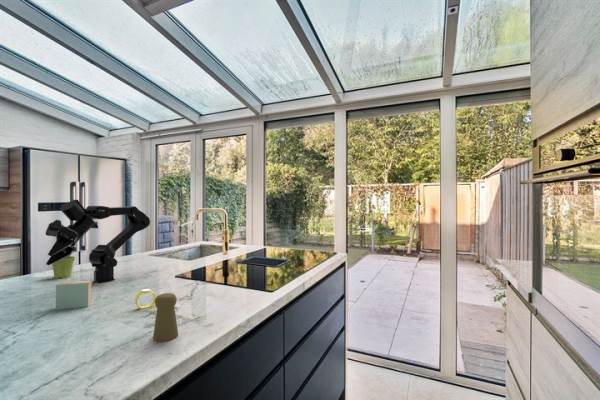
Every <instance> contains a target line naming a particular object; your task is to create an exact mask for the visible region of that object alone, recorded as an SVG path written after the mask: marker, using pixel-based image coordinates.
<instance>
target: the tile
mask: <svg viewBox="0 0 600 400" xmlns="http://www.w3.org/2000/svg"><path fill="white" fill-rule="evenodd" d="M91 305H92V280H80V281H79V280H78V281H62V282H59V283H57V284H55V310H66V308H68V309H78V308H88V307H90V306H91Z"/></svg>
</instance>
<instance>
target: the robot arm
mask: <svg viewBox="0 0 600 400" xmlns="http://www.w3.org/2000/svg"><path fill="white" fill-rule="evenodd" d="M59 210H60V211H61V212H62V214H63V215H65V217H66V218H67V219H68V220H69V221H71V222H73V221H74V223H72V224H68V226H64V224H62V221H61V220H60V219H55V220H54V221H53V222H50V223H48V225H47V227H46V229H45V236H48V237H55V242H54V243H53V245H52V247H51V249H50V250H49V251H48V254H47V256H49V258H48V260H47V262H46V263H45V265H47V266H50V265H52V264H53V263H55V262H57V261H59V260H62V259H64V258H67V257H70V256H72V255H73V252H74V249H73V247H75V246H77V244H78V242H79V241H80V240H82V239H83V238H84V237H85V235H86V234H87V233H88V231H89V230H91V229H98V228H99V225H98V221H95V220H103V219H108V218H109V217H112V216H125V215H126V218H127V220H128V225H127V226H126V227H125V228H124V229H123V230H122V231H120V232H119V233H118V234H117V235H116V236H115V237H113V238H112V239H111V240H110V241H109V242H108V243H106V244H98V245H96V246H95V247H94V248H93V249H91V252H90V253H89V255H88V259H89V262H90V264H91V267H92V268H94V270H93V281H94V282H96V283H97V284H100V283H107V282H112V281H115V280H116V278H114V276H115V275H114V274H115V273H114V272H115V271H114V268H115V267H117V265H118V260H117V259H116V258H115V256H116V252H117V251H118V250H119V249H120V248H121V247H122V246H123V245H124V244H125V243H127V242H128V240H130V239H131V238H132V237H133V236H134V235H135V234H137V232H141V231H143V230H145V229H147V228H148V227H149V226H150V224H151V220H150V217H149V216H147V214H146V213H144V212H143V211H141V210H140V209H139V208H138V207H137V206H135V205H128V206H127V205H126V206H115V207H114V206H111V207H110V206H105V205H88V206H87V207H86V208H85V207H84V205H82V204H81V203H80V201H79V199H72V201H68V202H66V203H64V204H62V206H60V208H59Z"/></svg>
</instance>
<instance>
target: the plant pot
mask: <svg viewBox="0 0 600 400" xmlns="http://www.w3.org/2000/svg"><path fill="white" fill-rule="evenodd" d="M76 258H77V256H74V255H73V256H72V255H70V257H67V258H64V259H62V260H59V261H57V262H55V263H53V264H51V265H52V271H53V276H54V277H53V278H55V279H61V278H62V279H64V278H65V277H66V278H70V277H71V276H72V273H73V268H74V267H73V265H74V262H75V260H76ZM66 278H65V279H66Z"/></svg>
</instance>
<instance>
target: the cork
mask: <svg viewBox="0 0 600 400" xmlns="http://www.w3.org/2000/svg"><path fill="white" fill-rule="evenodd" d="M177 298H178V297H177V295H175V293H171V292H165V293H161V294H158V295H157V296H156V299H155V303H154V306H155V307H156V315H155V321H154V329H153V335H152V339H153V341H154V342H160V343H162V342H163V343H164V342H169V341H172V340H174V339H177V338H178V336H179V331H178V323H177V315H176V309H175V306H176V304H177V300H178V299H177Z"/></svg>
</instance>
